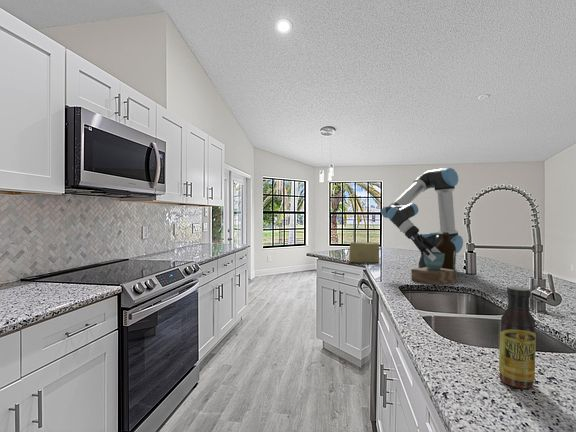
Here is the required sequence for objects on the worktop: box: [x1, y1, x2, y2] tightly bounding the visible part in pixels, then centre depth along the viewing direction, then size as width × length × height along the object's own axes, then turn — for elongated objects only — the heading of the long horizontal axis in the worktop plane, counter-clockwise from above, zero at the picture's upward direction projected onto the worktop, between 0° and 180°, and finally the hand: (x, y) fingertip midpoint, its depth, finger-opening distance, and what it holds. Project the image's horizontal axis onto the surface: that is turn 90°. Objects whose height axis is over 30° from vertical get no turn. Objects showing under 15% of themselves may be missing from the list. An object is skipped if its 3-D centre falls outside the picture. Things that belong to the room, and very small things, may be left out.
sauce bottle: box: [498, 285, 537, 389], centre depth 72 cm, size 7×6×20 cm
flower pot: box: [423, 252, 445, 270], centre depth 185 cm, size 9×9×9 cm
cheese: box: [348, 242, 380, 263], centre depth 264 cm, size 22×10×15 cm, turn 78°
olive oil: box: [436, 232, 457, 270], centre depth 200 cm, size 11×11×25 cm
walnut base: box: [410, 267, 458, 286], centre depth 185 cm, size 16×16×6 cm
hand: (438, 258), depth 183 cm, fingers open, 13 cm apart
